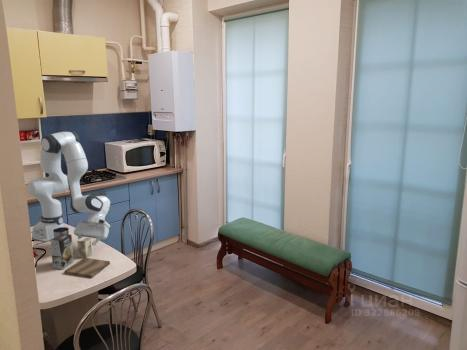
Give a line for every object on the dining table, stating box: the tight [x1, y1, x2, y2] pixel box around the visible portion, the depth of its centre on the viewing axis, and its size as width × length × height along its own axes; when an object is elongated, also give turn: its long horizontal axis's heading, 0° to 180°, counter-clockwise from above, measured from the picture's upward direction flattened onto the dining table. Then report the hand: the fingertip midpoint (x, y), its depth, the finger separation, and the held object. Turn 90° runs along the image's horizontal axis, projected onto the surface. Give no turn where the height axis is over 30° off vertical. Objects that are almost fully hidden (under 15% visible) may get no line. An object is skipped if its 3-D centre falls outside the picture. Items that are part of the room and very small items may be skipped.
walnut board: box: [64, 257, 111, 279], centre depth 191 cm, size 16×16×2 cm
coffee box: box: [50, 233, 74, 270], centre depth 192 cm, size 9×6×16 cm
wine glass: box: [53, 226, 70, 238], centre depth 205 cm, size 8×8×15 cm
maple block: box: [76, 237, 92, 259], centre depth 204 cm, size 5×5×10 cm
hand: (86, 244), depth 205 cm, fingers open, 8 cm apart
